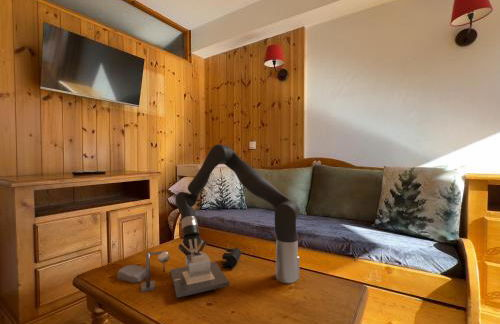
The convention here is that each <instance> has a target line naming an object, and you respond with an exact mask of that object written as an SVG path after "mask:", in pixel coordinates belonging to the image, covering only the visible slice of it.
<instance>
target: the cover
mask: <svg viewBox="0 0 500 324" xmlns="http://www.w3.org/2000/svg"><path fill="white" fill-rule="evenodd" d="M210 262H211V259H210V257H209V255H207V253H206V252H203V250H202V251H200V252H194V253H191V255H185V267H186V274H187V276H188V279H189V281H192V280H196V279H201V278H206V277H210Z"/></svg>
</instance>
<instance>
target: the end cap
mask: <svg viewBox="0 0 500 324" xmlns="http://www.w3.org/2000/svg"><path fill="white" fill-rule="evenodd" d="M241 256H242V251H241V249H240V248H238V247H234V248H226V250H225V252H224V253H223V254H222V260H225V261H222V263H221V264H222V268H223V269H228V270H232V269H234V268H235V267H236V266H237V264H238V262H239V261H240V258H241Z"/></svg>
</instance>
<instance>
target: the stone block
mask: <svg viewBox="0 0 500 324" xmlns="http://www.w3.org/2000/svg"><path fill="white" fill-rule="evenodd" d="M116 275H117V279H118V280H121V281H125V282H127V283H128V282H129V283H131V284H139V283H141V282H142V281H143V280H146V266H140V265H138V264H128V265H125V266H123V267H121V268H120V269H118V272H117V274H116Z"/></svg>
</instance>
